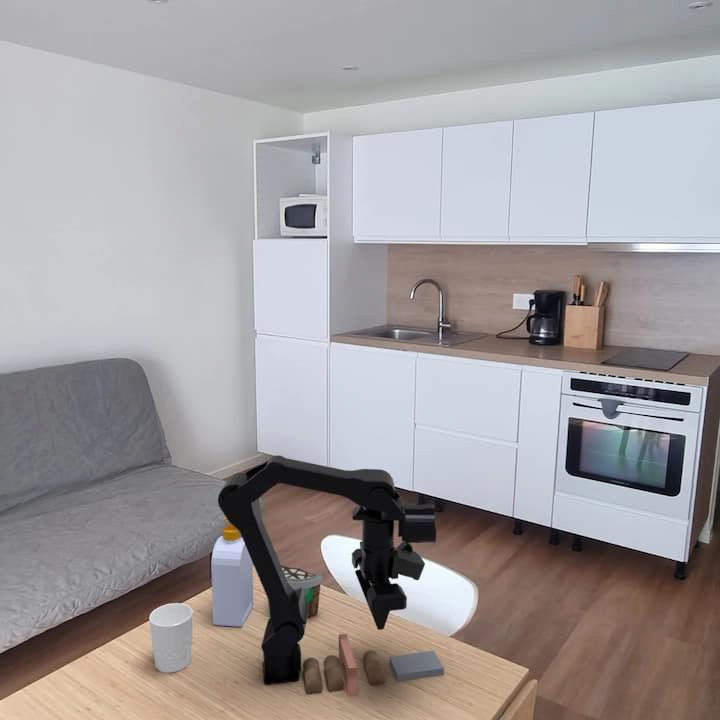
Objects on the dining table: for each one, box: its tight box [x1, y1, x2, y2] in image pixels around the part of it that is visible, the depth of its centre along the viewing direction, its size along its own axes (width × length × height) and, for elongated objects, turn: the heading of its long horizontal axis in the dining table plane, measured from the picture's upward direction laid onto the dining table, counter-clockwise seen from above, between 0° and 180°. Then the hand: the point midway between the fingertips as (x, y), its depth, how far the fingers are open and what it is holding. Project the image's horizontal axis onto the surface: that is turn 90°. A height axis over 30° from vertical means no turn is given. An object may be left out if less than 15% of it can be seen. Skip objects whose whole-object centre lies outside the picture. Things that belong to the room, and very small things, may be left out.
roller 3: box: [362, 649, 387, 687], centre depth 122 cm, size 3×6×3 cm, turn 12°
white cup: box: [148, 602, 194, 674], centre depth 124 cm, size 8×8×10 cm
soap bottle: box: [210, 516, 254, 628], centre depth 139 cm, size 9×7×23 cm
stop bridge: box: [338, 633, 358, 697], centre depth 120 cm, size 2×10×6 cm, turn 12°
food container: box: [281, 564, 324, 620], centre depth 140 cm, size 12×6×10 cm, turn 62°
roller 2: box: [323, 654, 345, 692], centre depth 120 cm, size 3×6×3 cm, turn 11°
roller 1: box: [302, 657, 324, 695], centre depth 119 cm, size 3×6×3 cm
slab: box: [388, 650, 445, 683], centre depth 123 cm, size 9×6×2 cm, turn 103°
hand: (376, 620), depth 120 cm, fingers open, 6 cm apart
